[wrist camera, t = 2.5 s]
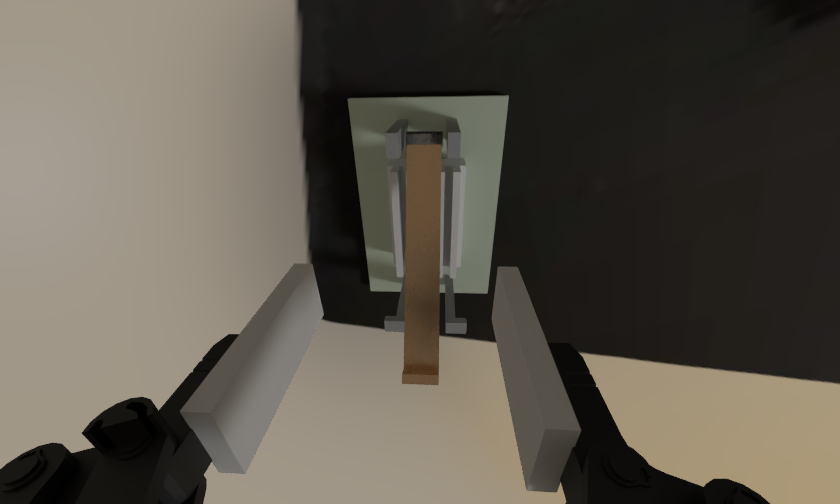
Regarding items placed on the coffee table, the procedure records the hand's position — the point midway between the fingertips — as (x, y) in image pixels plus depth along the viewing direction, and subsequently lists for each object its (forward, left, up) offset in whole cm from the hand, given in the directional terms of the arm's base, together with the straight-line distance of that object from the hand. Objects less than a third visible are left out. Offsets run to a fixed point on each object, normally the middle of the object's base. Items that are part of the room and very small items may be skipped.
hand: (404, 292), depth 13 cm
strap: (+6, 0, -14) cm, 15 cm away
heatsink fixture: (+6, 0, -25) cm, 26 cm away
